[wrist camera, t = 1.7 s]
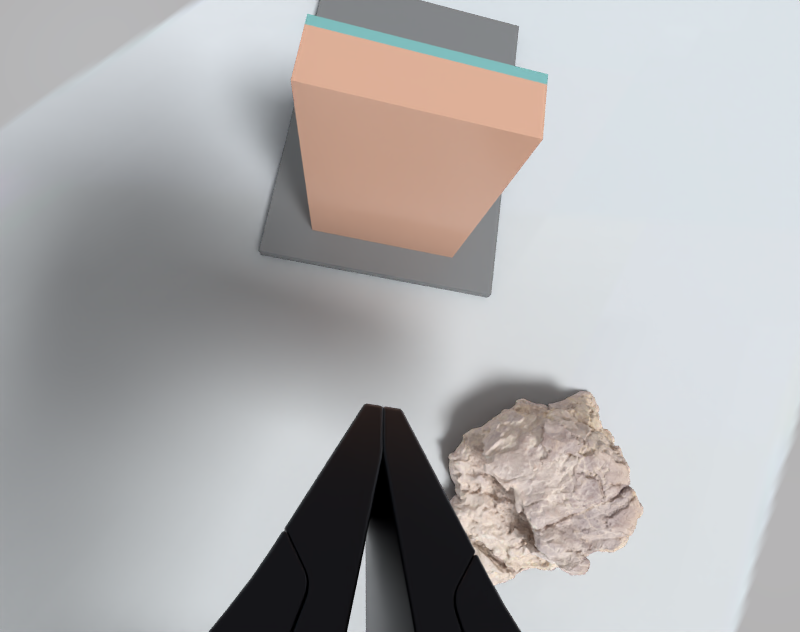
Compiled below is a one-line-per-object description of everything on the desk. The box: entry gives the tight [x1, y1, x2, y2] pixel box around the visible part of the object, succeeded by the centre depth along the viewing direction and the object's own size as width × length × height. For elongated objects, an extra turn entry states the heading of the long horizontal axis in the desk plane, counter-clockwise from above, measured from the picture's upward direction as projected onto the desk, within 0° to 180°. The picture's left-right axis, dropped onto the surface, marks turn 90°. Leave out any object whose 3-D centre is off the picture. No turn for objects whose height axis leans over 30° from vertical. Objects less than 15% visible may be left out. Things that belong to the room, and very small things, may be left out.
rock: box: [448, 391, 643, 586], centre depth 20 cm, size 11×8×6 cm
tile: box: [291, 14, 548, 258], centre depth 19 cm, size 2×8×11 cm, turn 81°
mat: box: [259, 0, 519, 297], centre depth 26 cm, size 19×13×1 cm
